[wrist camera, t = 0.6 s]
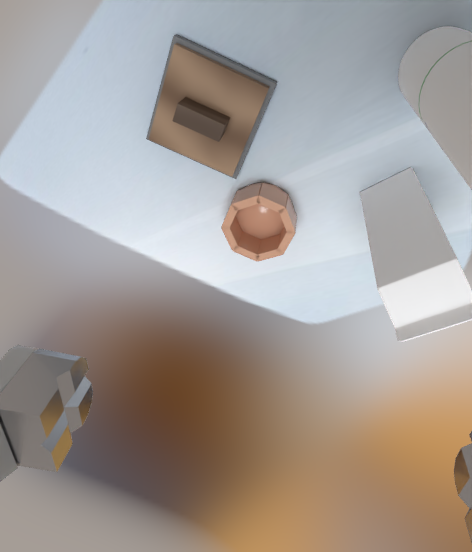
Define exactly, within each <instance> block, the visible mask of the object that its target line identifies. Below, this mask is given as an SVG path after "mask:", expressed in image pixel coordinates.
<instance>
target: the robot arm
mask: <svg viewBox="0 0 472 552" xmlns="http://www.w3.org/2000/svg"><path fill="white" fill-rule="evenodd" d="M88 370H89V368H88V364H87V360H86V358H83V357H79V356H74V355H69V354H64V353H59V352H53V351H49V350H44V349H37V348H32V347H27V346H21V345H17V346H15V347H13V348H11V349H10V350H9V351H8V352H7V353H6V354H5V356H3V358H2V359H1V360H0V482H1V481H2V480H3V479H4V478H6V477H7V476H8V475H9V474H11V473H12V472H13V471H15V470H16V469H17V468H18V467H17V466H24V467H29V468H36V469H41V470H47V471H54V472H57V471H58V469H59V468H60V466H61V464H62V462H63V460H64V458H65V457H66V455H67V453H68V451H69V449H70V447H71V446H72V439H71V433H72V432H73V431H75V430H76V429H78V428H80V427H81V426H82V425H83V423H84V421H85V420H86V417H87V416H88V413H89V410H90V407H91V403H92V396H93V390H92V384H91V382H90V381H89V380H88V379H87V378H86V377H85V375H86V373H87V371H88ZM470 438H471V441H472V432H471V433H470ZM454 477H455V485H456V488H457V492H458V496H459V497H460V498H461V499H462V500H463V501H464V502H465V503H466V505H467V506H468V507H469V511H468V512H467V515H466V516H465V521H466V525H467V529H468V532H469V536H470V539H471V543H472V444H469V445H467V446H465V447H463V448H461V449H460V451H459V453H458V455H457V457H456V460H455V467H454Z"/></svg>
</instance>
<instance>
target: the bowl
mask: <svg viewBox="0 0 472 552" xmlns="http://www.w3.org/2000/svg"><path fill="white" fill-rule="evenodd" d="M296 222H297V216H296V214H295V211H294V208H293V204H292V201H291V199H290V198H289V195H287V193H285V192H284V191H283V190H282V189H280V188H279V187H277V186H275V185H272V184H269V183H254V184H251V185H248V186H246V187H244V188H243V189H241V190H238V191H237V192H236V194H235V196H234V198H233V201H232V203H231V205H230V208H229V210H228V212H227V215H226V217H225V219H224V222H223V224H222V230H223V233H224V235H225V237H226V239H227V241H228V243H229V245H230V247H231V249H232V250H233V251H234V252H236V253H238V254H241V255H243V256H245V257H248V258H250V259H252V260H255V261H262V260H265V259H269V258H273V257H276V256H280V255H283V254H284V252H285V250H286V249H287V247H288V245H289V243H290V242H291V240H292V238H293V236H294V235H295V231H296Z"/></svg>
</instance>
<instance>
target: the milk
mask: <svg viewBox="0 0 472 552" xmlns="http://www.w3.org/2000/svg"><path fill="white" fill-rule="evenodd" d="M360 196H361V201H362V207H363V212H364V218H365V223H366V229H367V234H368V240H369V245H370V250H371V256H372V261H373V267H374V272H375V278H376V283H377V288H378V291H379V294H380V296H381V298H382V301H383V303H384V305H385V307H386V310H387V312H388V314H389V316H390V318H391V320H392V323H393V325H394V327H395V330H396V335H397V339H398V341H400V342H404V341H407V340H411V339H414V338H417V337H420V336H423V335H426V334H430V333H433V332H436V331H439V330H442V329H445V328H449V327H452V326H455V325H458V324H461V323H464V322H468V321H471V320H472V289H471V287H470V285H469V283H468V281H467V279H466V276H465V274H464V272H463V270H462V268H461V265H460V263H459V261H458V259H457V257H456V255H455V253H454V251H453V249H452V247H451V245H450V243H449V241H448V239H447V237H446V235H445V233H444V231H443V229H442V227H441V225H440V222H439V220H438V218H437V216H436V214H435V212H434V210H433V208H432V206H431V204H430V202H429V200H428V198H427V196H426V194H425V192H424V190H423V188H422V186H421V184H420V182H419V180H418V178H417V176H416V174H415V172H414V170H413V168H412V167H410V168H408V169H406V170H404V171H402V172H400V173H398V174H396V175H394V176H392V177H390V178H388V179H386V180H384V181H382V182H380V183H378V184H375V185H373V186H371V187H369V188H367V189H365V190H363V191H361V192H360Z"/></svg>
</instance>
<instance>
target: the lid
mask: <svg viewBox="0 0 472 552" xmlns="http://www.w3.org/2000/svg"><path fill="white" fill-rule="evenodd" d="M268 90H269V86H267V85H265V84H263V83H261V82H259V81H257V80H255V79H252V78H250V77H248V76H246V75H244V74H242V73H240V72H238V71H235V70H233V69H231V68H229V67H227V66H225V65H223V64H221V63H218V62H216V61H214V60H212V59H210V58H208V57H206V56H204V55H201V54H199V53H197V52H195V51H193V50H191V49H189V48H187V47H184V46H182V45H180V44H178V43H176V44H174V47H173V51H172V54H171V58H170V62H169V65H168V69H167V73H166V76H165V80H164V84H163V88H162V91H161V95H160V99H159V102H158V106H157V110H156V114H155V117H154V121H153V125H152V128H151V132H150V136H149V140H151V141H153V142H155V143H158V144H160V145H162V146H164V147H167V148H169V149H171V150H173V151H176V152H178V153H180V154H182V155H184V156H187V157H189V158H191V159H193V160H196V161H198V162H200V163H202V164H205V165H207V166H209V167H211V168H214V169H216V170H218V171H220V172H222V173H225V174H227V175H229V176H231V177H232V176H233V174H234V172H235V169H236V167H237V164H238V162H239V160H240V157H241V155H242V152H243V150H244V148H245V145H246V143H247V140H248V138H249V135H250V133H251V131H252V128H253V126H254V123H255V121H256V119H257V116H258V114H259V111H260V109H261V107H262V104H263V102H264V99H265V97H266V95H267V92H268Z"/></svg>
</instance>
